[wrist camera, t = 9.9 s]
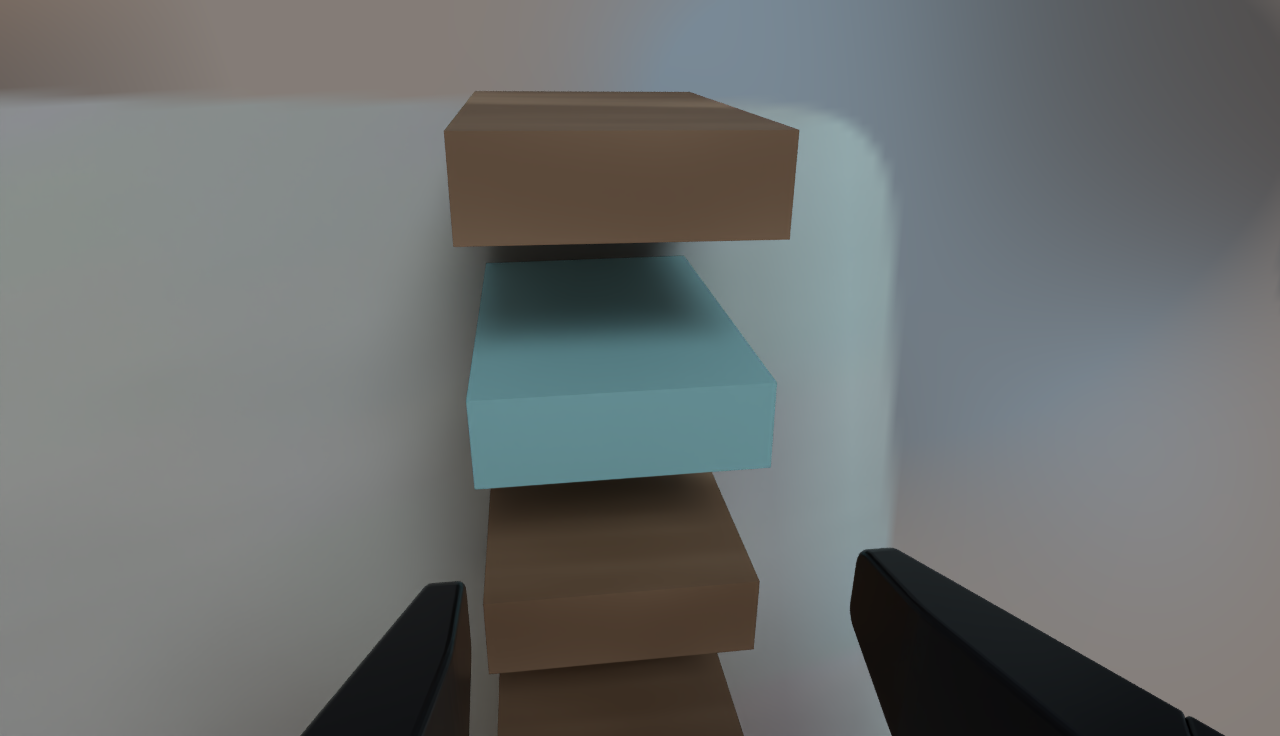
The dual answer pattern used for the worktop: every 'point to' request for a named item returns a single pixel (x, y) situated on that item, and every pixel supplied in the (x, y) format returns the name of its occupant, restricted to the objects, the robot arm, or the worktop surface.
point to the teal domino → (611, 376)
